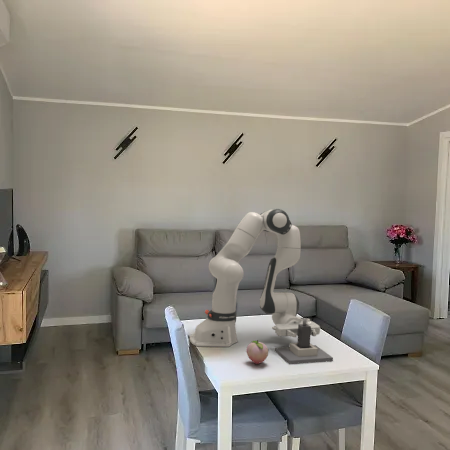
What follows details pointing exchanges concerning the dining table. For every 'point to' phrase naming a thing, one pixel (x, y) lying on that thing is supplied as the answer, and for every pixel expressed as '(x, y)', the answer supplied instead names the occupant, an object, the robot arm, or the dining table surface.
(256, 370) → the dining table surface
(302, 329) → the plug
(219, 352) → the dining table surface
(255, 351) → the decorative fruit
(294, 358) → the socket
